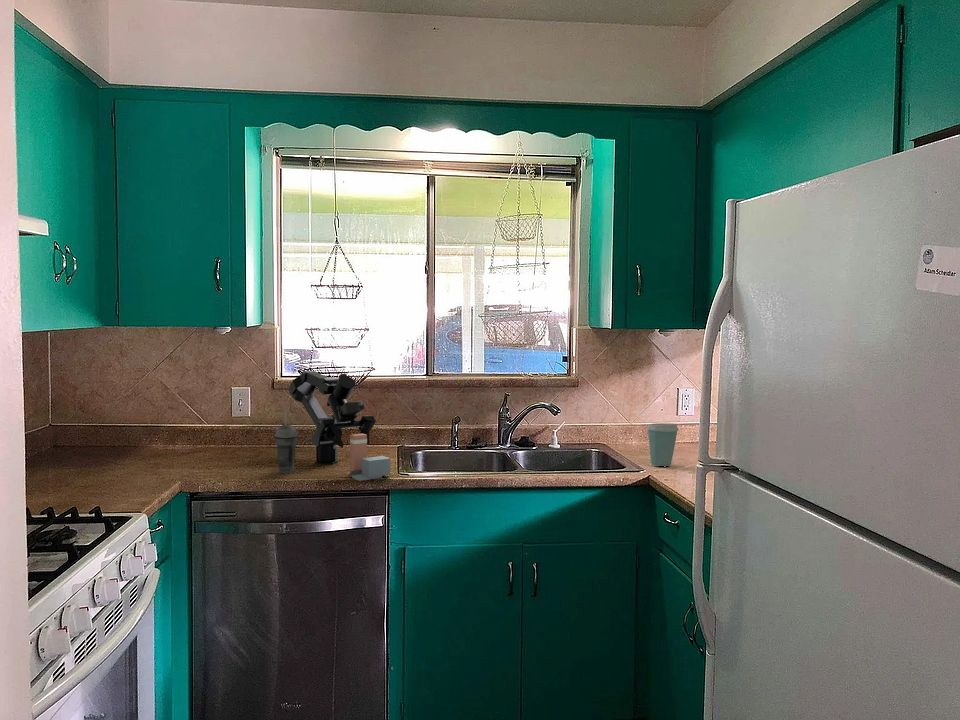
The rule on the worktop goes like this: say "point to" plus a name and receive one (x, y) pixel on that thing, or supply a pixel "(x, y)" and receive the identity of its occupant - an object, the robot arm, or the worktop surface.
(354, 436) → the pink bottle
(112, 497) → the worktop surface
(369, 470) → the dispenser
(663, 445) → the disposable coffee cup
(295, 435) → the beverage cup
